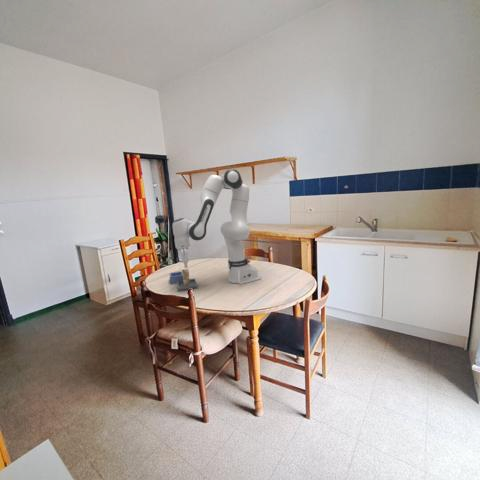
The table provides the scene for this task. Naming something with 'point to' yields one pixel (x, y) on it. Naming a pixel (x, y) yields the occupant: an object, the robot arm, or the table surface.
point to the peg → (186, 277)
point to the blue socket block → (176, 277)
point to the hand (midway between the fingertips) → (185, 265)
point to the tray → (192, 285)
